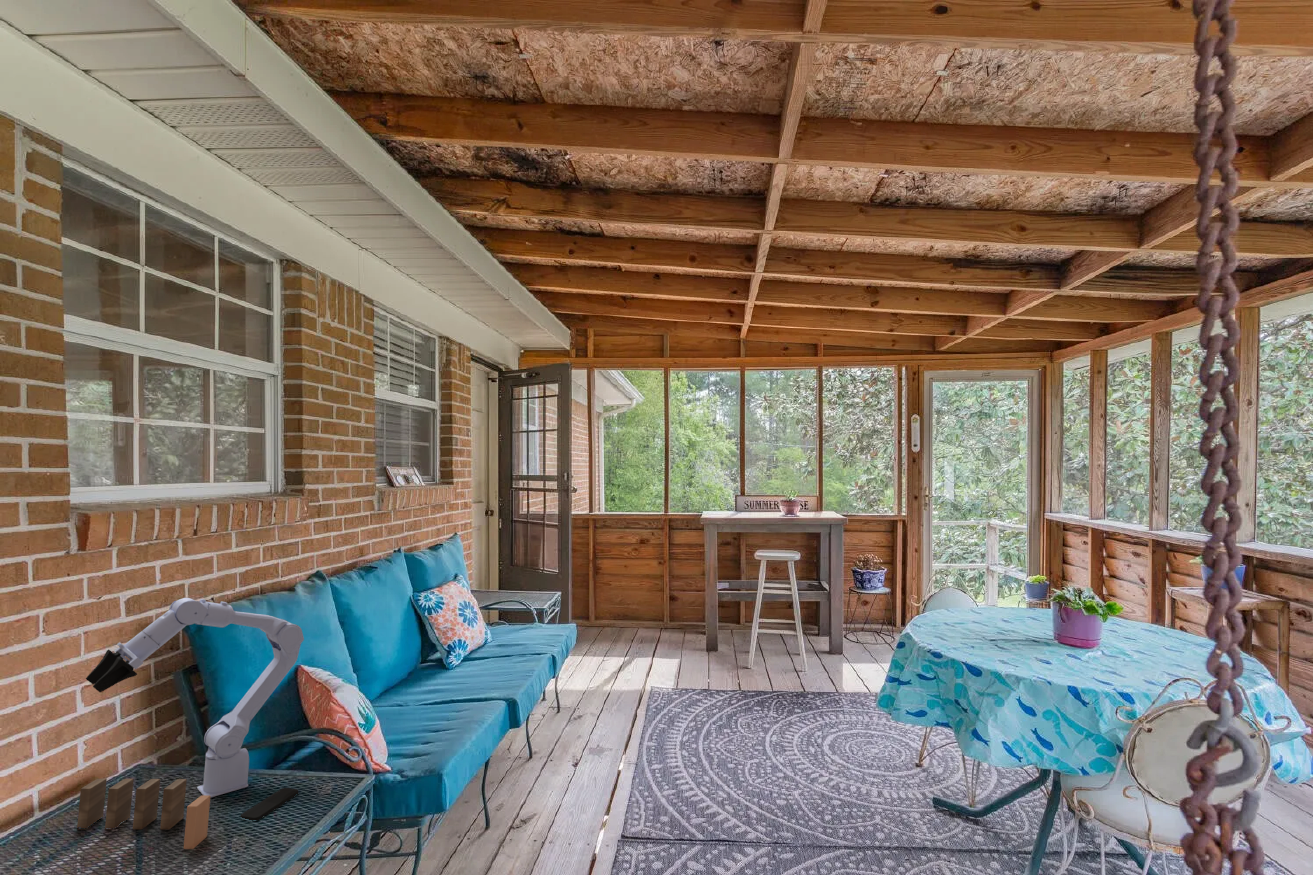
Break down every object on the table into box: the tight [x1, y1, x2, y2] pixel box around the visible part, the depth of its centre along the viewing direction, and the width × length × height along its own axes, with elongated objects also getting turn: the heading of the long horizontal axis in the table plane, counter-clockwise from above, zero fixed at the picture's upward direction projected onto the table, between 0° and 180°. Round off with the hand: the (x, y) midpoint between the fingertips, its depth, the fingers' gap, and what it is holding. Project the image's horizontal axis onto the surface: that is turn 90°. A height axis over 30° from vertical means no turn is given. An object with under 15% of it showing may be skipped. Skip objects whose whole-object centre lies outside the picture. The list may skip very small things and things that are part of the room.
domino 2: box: [104, 778, 134, 830], centre depth 152 cm, size 2×5×9 cm, turn 4°
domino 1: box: [76, 778, 108, 829], centre depth 151 cm, size 2×5×9 cm, turn 4°
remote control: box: [239, 787, 300, 821], centre depth 162 cm, size 5×2×15 cm
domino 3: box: [132, 778, 161, 830], centre depth 152 cm, size 2×5×9 cm, turn 4°
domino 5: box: [183, 794, 211, 850], centre depth 145 cm, size 2×5×9 cm, turn 4°
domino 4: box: [159, 778, 187, 830], centre depth 153 cm, size 2×5×9 cm, turn 4°
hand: (92, 685), depth 150 cm, fingers open, 7 cm apart
